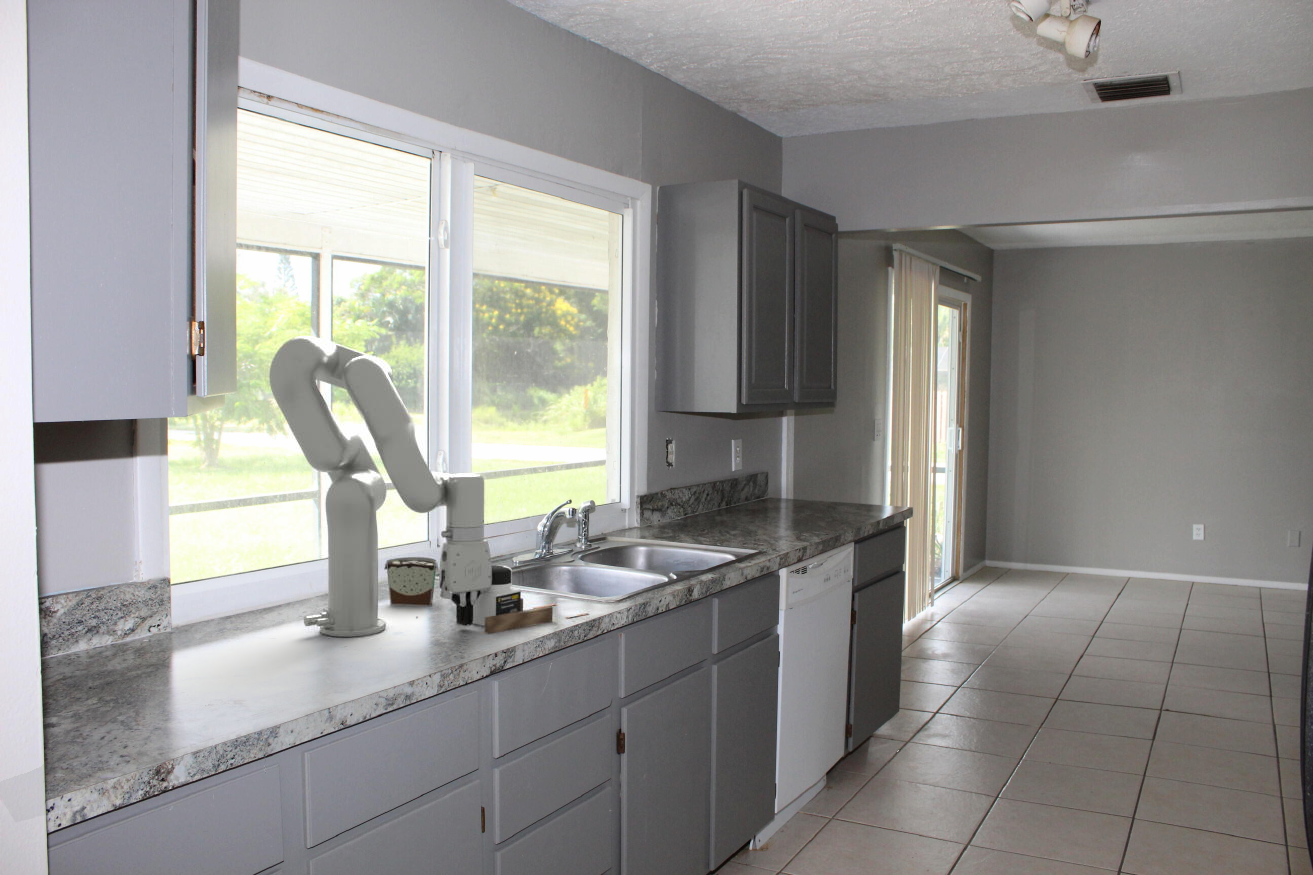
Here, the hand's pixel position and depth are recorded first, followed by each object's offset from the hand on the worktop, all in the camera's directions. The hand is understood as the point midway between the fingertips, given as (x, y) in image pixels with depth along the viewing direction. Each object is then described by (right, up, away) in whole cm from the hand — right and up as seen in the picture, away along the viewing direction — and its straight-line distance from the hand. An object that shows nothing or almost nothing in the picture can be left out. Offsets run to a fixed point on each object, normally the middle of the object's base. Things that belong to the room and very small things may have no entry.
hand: (464, 623), depth 193 cm
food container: (-16, 0, +24) cm, 28 cm away
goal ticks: (+18, -1, +17) cm, 25 cm away
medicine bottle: (+6, -1, +6) cm, 8 cm away
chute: (+7, -1, +7) cm, 10 cm away
